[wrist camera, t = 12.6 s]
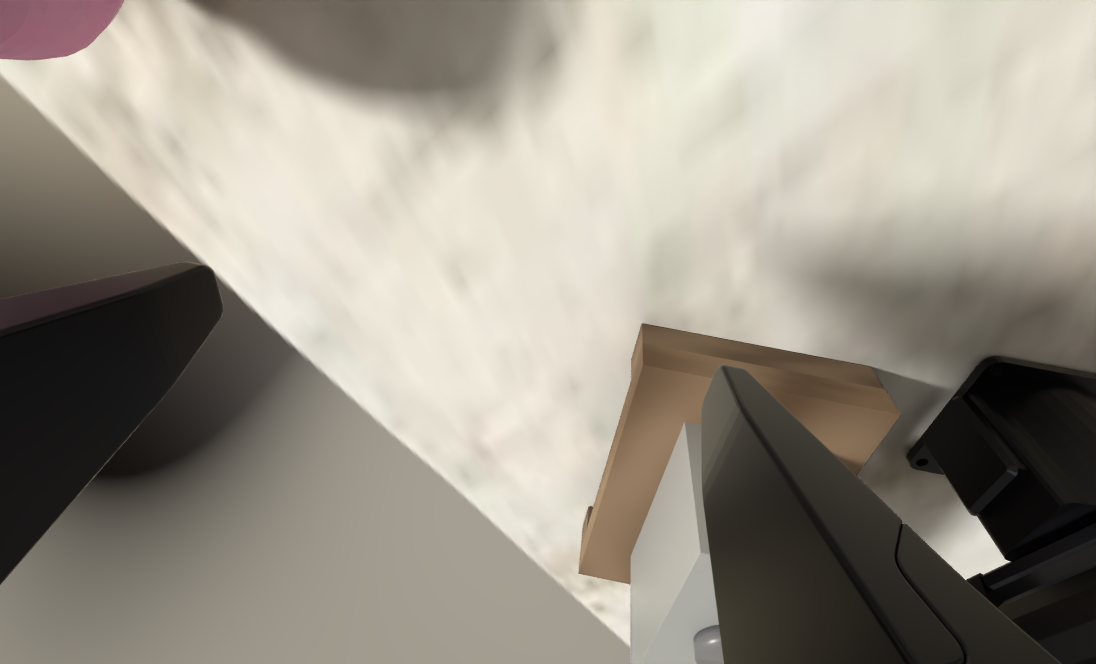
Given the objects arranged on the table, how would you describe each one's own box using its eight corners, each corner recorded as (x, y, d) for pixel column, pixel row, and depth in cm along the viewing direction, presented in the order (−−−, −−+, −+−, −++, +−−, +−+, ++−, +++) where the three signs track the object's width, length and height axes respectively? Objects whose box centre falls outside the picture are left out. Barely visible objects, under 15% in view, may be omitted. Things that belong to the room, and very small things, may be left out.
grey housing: (728, 576, 27) (753, 726, 21) (630, 556, 27) (630, 700, 21) (809, 445, 21) (871, 604, 16) (684, 421, 21) (702, 570, 16)
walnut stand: (870, 366, 22) (901, 414, 19) (746, 560, 30) (757, 610, 28) (641, 323, 22) (643, 364, 20) (582, 526, 31) (578, 573, 28)
